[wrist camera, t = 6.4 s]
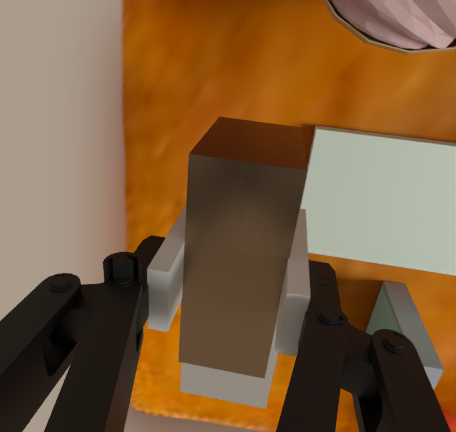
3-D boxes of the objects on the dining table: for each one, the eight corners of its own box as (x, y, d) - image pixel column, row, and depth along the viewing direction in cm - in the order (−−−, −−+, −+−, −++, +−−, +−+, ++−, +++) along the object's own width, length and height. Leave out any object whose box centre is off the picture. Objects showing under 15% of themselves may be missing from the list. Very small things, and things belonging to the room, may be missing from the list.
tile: (381, 280, 35) (412, 364, 26) (405, 284, 35) (444, 369, 26) (360, 342, 39) (380, 434, 30) (381, 346, 39) (408, 440, 30)
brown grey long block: (199, 114, 18) (160, 149, 13) (324, 130, 18) (338, 175, 12) (183, 381, 27) (156, 468, 22) (266, 398, 26) (259, 492, 21)
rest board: (315, 125, 30) (316, 128, 29) (613, 162, 28) (626, 167, 27) (292, 243, 35) (292, 249, 34) (543, 282, 33) (551, 290, 32)
